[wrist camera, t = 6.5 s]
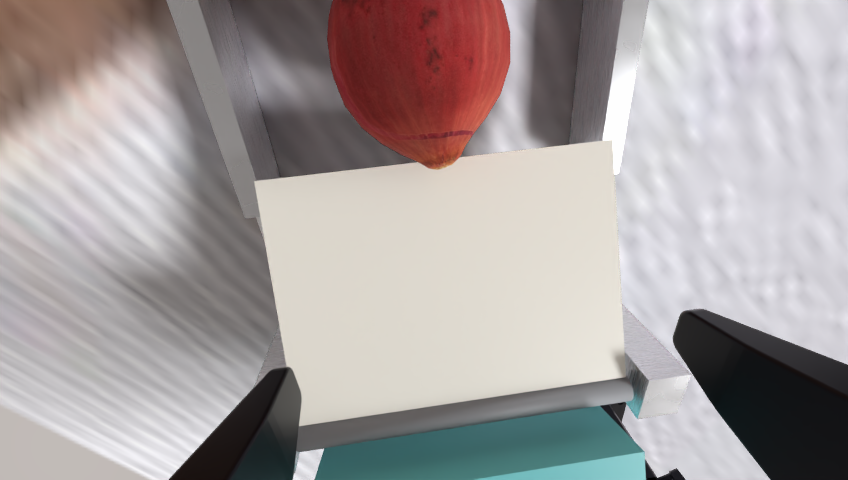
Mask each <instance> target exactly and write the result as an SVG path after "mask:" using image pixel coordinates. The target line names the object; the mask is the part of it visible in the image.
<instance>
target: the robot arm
mask: <svg viewBox="0 0 848 480" xmlns="http://www.w3.org/2000/svg"><path fill="white" fill-rule="evenodd" d="M673 343H674V346H675V348H676V349H677V351H678V353H679V354H680V356H681V357H682V359H683V360H684V362H685V363H686V365H687V366H688V368H689V369H690V371H691V372H692V374H693V376H694V377H695V379H696V380H697V382H698V383H699V385H700V386H701V388H702V389H703V391H704V392H705V394H706V395H707V397H708V399H709V400H710V401H711V403H712V404H713V406H714V407H715V409H716V410H717V411H718V413H719V414H720V415H721V417H722V418H723V419H724V421H725V422H726V423H727V425H728V426H729V427H730V428H731V430H732V431H733V432H734V434H735V435H736V436H737V437H738V439H739V440H740V441H741V442H742V444H743V445H744V446H745V448H746V449H747V450H748V451H749V453H750V454H751V455H752V457H753V458H754V459H755V460H756V462H757V463H758V464H759V465H760V467H761V468H762V469H763V471H764V472H765V473H766V474H767V476H768V477H769V478H770V480H848V365H847V364H844V363H842V362H839V361H837V360H834V359H831V358H829V357H826V356H824V355H821V354H818V353H816V352H813V351H811V350H808V349H806V348H803V347H800V346H798V345H795V344H793V343H790V342H787V341H785V340H782V339H780V338H777V337H775V336H772V335H769V334H767V333H764V332H762V331H759V330H756V329H754V328H751V327H749V326H746V325H744V324H741V323H738V322H736V321H733V320H731V319H728V318H725V317H723V316H720V315H718V314H715V313H713V312H710V311H707V310H704V309H693V310H686V311H683V312H682V313H681V314H680V316H679V319H678V323H677V326H676V329H675V332H674V335H673ZM301 403H302V396H301V391H300V388H299V385H298V383H297V380H296V377H295V374H294V372H293V370H292V368H290V367H282V368H275V369H272V370H270V371H269V372H268V373H267V374H266V375H265V376H264V377H263V378H262V379H261V380H260V382H259V383H258V384H257V385H256V386H255V387H254V388H253V389H252V390H251V391H250V392H249V393H248V395H247V396H246V397H245V398H244V399H243V400H242V401H241V402H240V403H239V404H238V405H237V406H236V407H235V409H234V410H233V411H232V412H231V413H230V414H229V415H228V416H227V417H226V418H225V419H224V420H223V421H222V423H221V424H220V425H219V426H218V427H217V428H216V429H215V430H214V431H213V432H212V433H211V434H210V436H209V437H208V438H207V439H206V440H205V441H204V442H203V443H202V444H201V445H200V446H199V447H198V448H197V450H196V451H195V452H194V453H193V454H192V455H191V456H190V457H189V458H188V459H187V460H186V461H185V463H184V464H183V465H182V466H181V467H180V468H179V469H178V470H177V471H176V472H175V473H174V474H173V475H172V477H171V478H170V479H169V480H293V474H294V467H295V458H296V449H297V440H298V431H299V421H300V412H301ZM600 407H601V408H602V409H603V410H604V411H605V412H606V413H607V414H608V415H609V416H610V417H611V418H612V419H613V420H614V421H615V422H616V423H617V424H618V425H619V426H620V427H621V428H622V429H623V430H624V431H625V432H626V433H627V434H628V435H629V436H630V434H629V433H628V431H627V430H626V428H625V427H624V425H623V424H622V418H623V415H624V411H625V407H626V402H621V403H614V404H608V405H601V406H600ZM630 437H631V436H630ZM631 438H632V437H631ZM632 440H633V439H632ZM633 441H634V440H633ZM645 472H646V480H685V478H684V477H683V476H682V475H681V473H680V472H679V471H678V469H677V468H676V469H674V470H671V471H669V474H666V475H664V476H661V477H659V478H657V477H656V475H655V474H654V472H653V471H652V469H651V467H650V466H649V464H648V463H647V461H646V460H645Z"/></svg>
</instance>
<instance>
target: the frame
mask: <svg viewBox="0 0 848 480" xmlns="http://www.w3.org/2000/svg"><path fill="white" fill-rule="evenodd" d="M166 1H167V4H168V7H169V9H170V12H171V15H172V18H173V21H174V23H175V26H176V29H177V32H178V34H179V37H180V40H181V43H182V46H183V48H184V51H185V54H186V57H187V59H188V62H189V65H190V68H191V71H192V73H193V76H194V79H195V82H196V84H197V87H198V90H199V93H200V96H201V98H202V101H203V104H204V107H205V109H206V112H207V115H208V118H209V121H210V123H211V126H212V129H213V132H214V134H215V137H216V140H217V143H218V146H219V148H220V151H221V154H222V157H223V159H224V162H225V165H226V168H227V170H228V173H229V176H230V179H231V182H232V184H233V187H234V190H235V193H236V195H237V198H238V201H239V204H240V207H241V209H242V212H243V215H244V218H245V219H247V218H255V217H256V219H257V222H258V225H259V228H260V231H261V234H262V237H263V240H264V235H263V229H262V223H261V218H260V212H259V206H258V200H257V195H256V189H255V183H254V181H260V180H269V179H277V178H281V177H280V174H279V170H278V167H277V163H276V160H275V157H274V153H273V150H272V146H271V143H270V139H269V136H268V132H267V129H266V126H265V122H264V119H263V115H262V112H261V108H260V105H259V101H258V98H257V95H256V91H255V88H254V84H253V81H252V77H251V74H250V70H249V67H248V64H247V60H246V57H245V53H244V50H243V46H242V43H241V39H240V36H239V33H238V29H237V26H236V22H235V19H234V15H233V12H232V8H231V5H230V2H229V0H166ZM648 2H649V0H584V2H583V12H582V22H581V31H580V41H579V51H578V61H577V70H576V80H575V90H574V99H573V109H572V119H571V129H570V138H569V145H570V144H579V143H587V142H596V141H605V140H613V154H614V172H615V174H618V173H619V168H620V162H621V156H622V151H623V145H624V139H625V133H626V128H627V122H628V116H629V111H630V105H631V99H632V93H633V88H634V82H635V76H636V71H637V65H638V59H639V53H640V48H641V42H642V36H643V31H644V25H645V19H646V13H647V8H648ZM264 243H265V240H264ZM622 314H623V332H624V350H625V367H626V376H627V377H628V379H629V380H630V382H631V385H632V388H633V393H634V396H633V399H632V401H627V402H626V404H627V405H628V406H629V408H630V409H631V411H632V412H633V414H634V415H635V416H636V418H637V419H642V418H649V417H655V416H661V415H668V414H674V413H677V412H678V409H679V406H680V404H681V401H682V399H683V396H684V393H685V391H686V388H687V385H688V383H689V380H690V378H691V375H692V374H691V373H690V372H689V371H688V370H687V369H686V368H685V367H684V366H683V365H682V364H681V363H680V362H679V361H678V360H677V359H676V358H675V357H674V356H673V355H672V354H671V353H670V352H669V351H668V350H667V349H666V348H665V347H664V346H663V345H662V344H661V343H660V342H659V341H658V340H657V339H656V338H655V337H654V336H653V335H652V334H651V333H650V332H649V331H648V330H647V329H646V328H645V326H644V325H643V324H642V323H641V322H640V321H639V320H638V319H637V318H636V317H635V316H634V315H633V314H632V313H631V312H630V311H629V310H628V309H627V308H626V307H625V306H624V305H623V304H622ZM282 367H287V366H286V361H285V355H284V349H283V343H282V338H281V332H280V326H279V325H278V328H277V330H276V333H275V335H274V338H273V340H272V343H271V345H270V348H269V350H268V353H267V355H266V358H265V360H264V363H263V365H262V368H261V370H260V373H259V375H258V378H257V380H256V383H255V385H254V387H255V386H256V385H257V384H258V383H259V382H260V380H261V379H262V378H263V377H264V376H265V375H266V374H267V373H268V372H269V371H270V370H272V369H275V368H282ZM298 457H299V452H297V451H296V458H295V467H294V473H295V471H296V466H297V462H298Z"/></svg>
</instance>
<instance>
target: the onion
mask: <svg viewBox="0 0 848 480" xmlns="http://www.w3.org/2000/svg"><path fill="white" fill-rule="evenodd" d="M327 41H328V49H329V57H330V64H331V70H332V74H333V77H334V80H335V83H336V85H337V88H338V90H339V93H340V95H341V98H342V100H343V103H344V105H345V107H346V108H347V109H348V111H349V112H350V113H351V115H352V116H353V117H354V118H355V120H356V121H357V122H358V124H359V125H360V126H361V128H363V129H364V130H365V131H366V132H368V133H369V134H370V135H371V136H373V137H374V138H375V139H376V140H378V141H379V142H380V143H381V144H383V145H385V146H386V147H388V148H390V149H392V150H394V151H395V152H397V153H399V154H401V155H403V156H405V157H408V158H410V159H412V160H415V161H417V162H419V163H420V164H422V165H424V166H426V167H427V168H429V169H434V170H439V169H443V168H446V167H448V166H450V165H452V164H453V163H454V162H455V161H456V160H457V159H458V158H459V157H460V156H461V154H462V152H463V150H464V148H465V146H466V144H467V143H468V141H469V140H470V138H471V137H472V135H473V134H474V133H475V131H476V130H477V129H478V127H479V126H480V125H481V123H482V122H483V121H484V120H485V118H486V117H487V115H488V114H489V112H490V110H491V109H492V107H493V106H494V104H495V102H496V101H497V99H498V97H499V96H500V94H501V91H502V88H503V85H504V81H505V78H506V75H507V72H508V68H509V65H510V30H509V26H508V22H507V18H506V14H505V9H504V6H503V3H502V1H501V0H333V2H332V5H331V9H330V13H329V20H328V35H327Z"/></svg>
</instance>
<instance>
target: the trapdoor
mask: <svg viewBox="0 0 848 480" xmlns="http://www.w3.org/2000/svg"><path fill="white" fill-rule="evenodd" d="M254 183H255V189H256V195H257V200H258V206H259V212H260V218H261V223H262V229H263V235H264V240H265V246H266V252H267V258H268V263H269V269H270V275H271V281H272V286H273V292H274V298H275V303H276V309H277V315H278V321H279V326H280V332H281V338H282V343H283V349H284V355H285V361H286V366H287V367H290V368H292V370H293V372H294V374H295V377H296V380H297V383H298V385H299V388H300V391H301V396H302V403H301V412H300V421H299V431H298V440H297V449H296V451H297V452H303V451H310V450H316V449H323V448H324V452H323V455H322V458H321V461H320V464H319V467H318V471H317V474H316V477H315V480H646V472H645V452H644V451H643V450H642V449H641V448H640V447H639V446H638V445H637V444H636V443H635V442H634V441H633V440H632V438H631V437H630V436H629V435H628V434H627V433H626V432H625V431H624V430H623V429H622V428H621V427H620V426H619V425H618V424H617V423H616V422H615V421H614V420H613V419H612V418H611V417H610V416H609V415H608V414H607V413H606V412H605V411H604V410H603V409H602V408H601V407H600V406H601V405H608V404H614V403H621V402H627V401H632V399H633V396H634V393H633V388H632V385H631V382H630V380H629V379H628V377H627V376H626V367H625V350H624V332H623V314H622V296H621V278H620V261H619V243H618V225H617V207H616V190H615V172H614V154H613V140H605V141H596V142H587V143H579V144H570V145H562V146H553V147H544V148H536V149H527V150H518V151H510V152H501V153H493V154H484V155H475V156H467V157H459V158H458V159H457V160H456V161H455V162H454V163H453V164H452V165H450V166H448V167H446V168H443V169H439V170H434V169H429V168H427V167H426V166H424V165H422V164H420V163H419V162H415V163H406V164H398V165H389V166H381V167H372V168H363V169H355V170H346V171H337V172H329V173H320V174H312V175H303V176H294V177H286V178H277V179H269V180H260V181H254Z"/></svg>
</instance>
